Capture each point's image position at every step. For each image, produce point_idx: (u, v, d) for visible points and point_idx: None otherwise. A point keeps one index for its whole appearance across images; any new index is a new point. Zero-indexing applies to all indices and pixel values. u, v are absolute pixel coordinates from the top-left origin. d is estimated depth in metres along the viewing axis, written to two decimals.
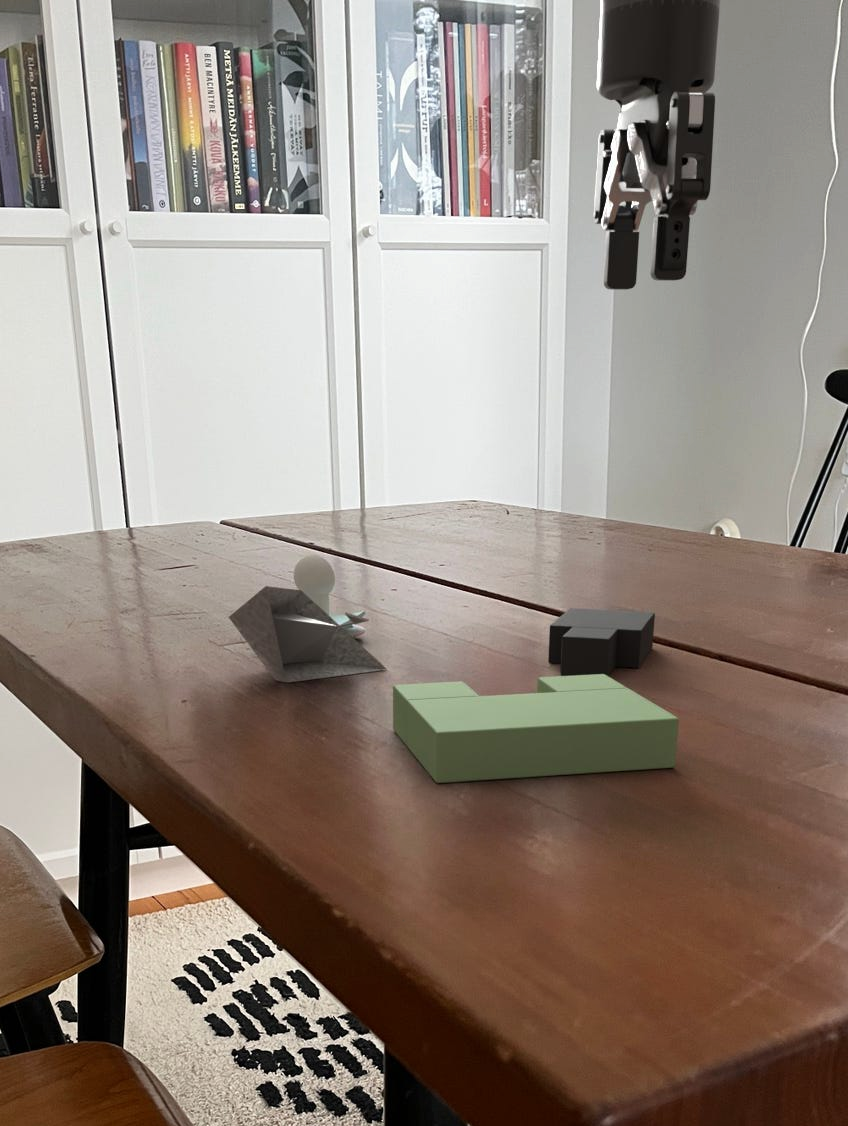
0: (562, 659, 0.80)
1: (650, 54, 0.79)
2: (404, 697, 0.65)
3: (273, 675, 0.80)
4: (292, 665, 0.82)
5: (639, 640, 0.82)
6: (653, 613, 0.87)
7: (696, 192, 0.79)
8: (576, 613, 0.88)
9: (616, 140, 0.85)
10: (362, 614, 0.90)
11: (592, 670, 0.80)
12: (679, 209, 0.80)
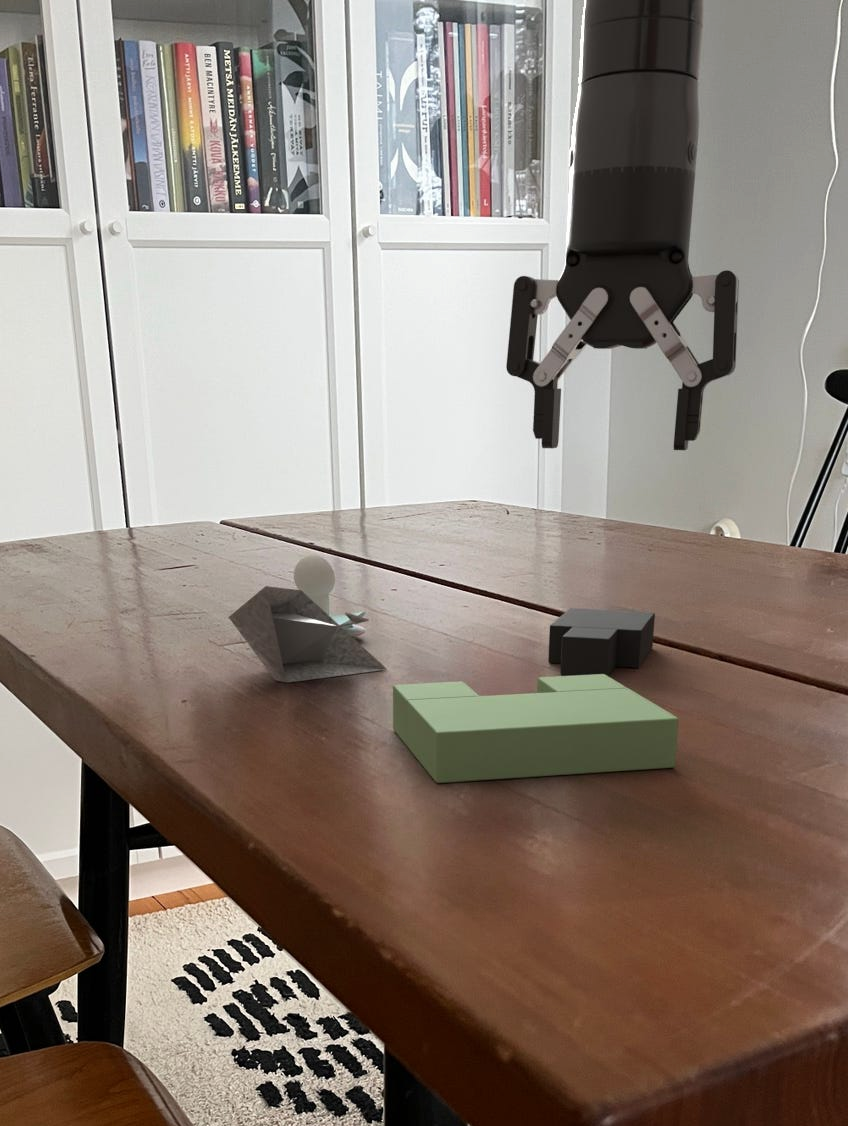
0: (562, 659, 0.80)
1: (679, 224, 0.75)
2: (404, 697, 0.65)
3: (273, 675, 0.80)
4: (292, 665, 0.82)
5: (639, 640, 0.82)
6: (653, 613, 0.87)
7: (732, 369, 0.79)
8: (576, 613, 0.88)
9: (597, 298, 0.78)
10: (362, 614, 0.90)
11: (592, 670, 0.80)
12: (707, 383, 0.79)
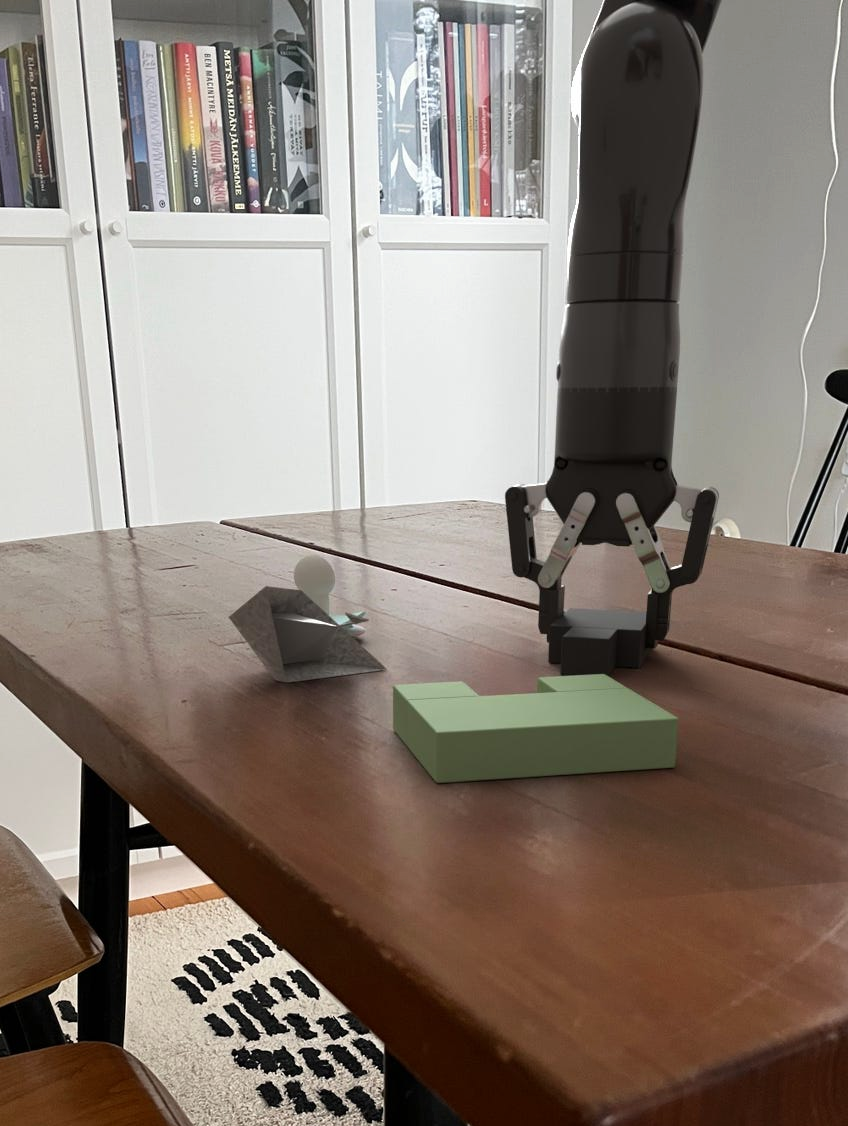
0: (562, 659, 0.80)
1: (662, 437, 0.79)
2: (404, 697, 0.65)
3: (273, 675, 0.80)
4: (292, 665, 0.82)
5: (639, 640, 0.82)
6: None
7: None
8: (576, 613, 0.88)
9: (584, 502, 0.81)
10: (362, 614, 0.90)
11: (592, 670, 0.80)
12: None
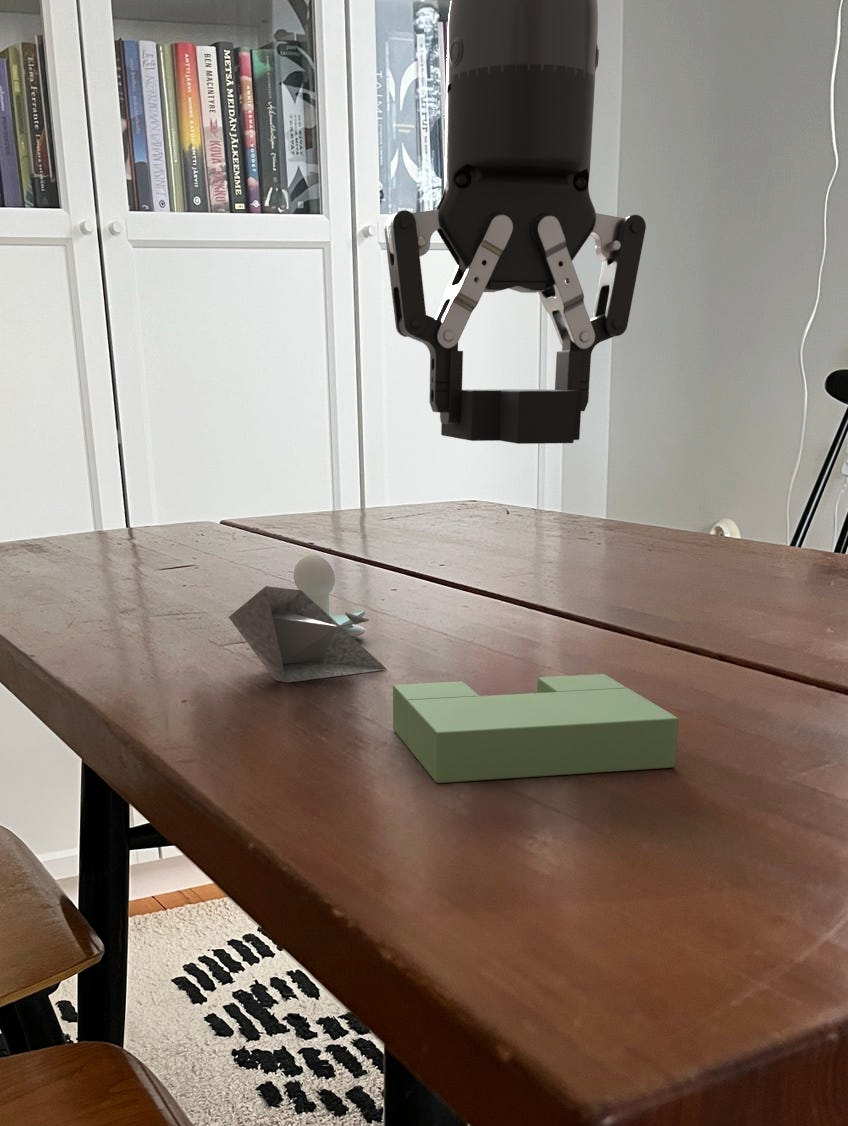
0: (520, 422, 0.63)
1: (590, 142, 0.64)
2: (404, 697, 0.65)
3: (273, 675, 0.80)
4: (292, 665, 0.82)
5: (580, 403, 0.67)
6: None
7: None
8: None
9: (500, 228, 0.65)
10: (362, 614, 0.90)
11: (556, 434, 0.64)
12: None
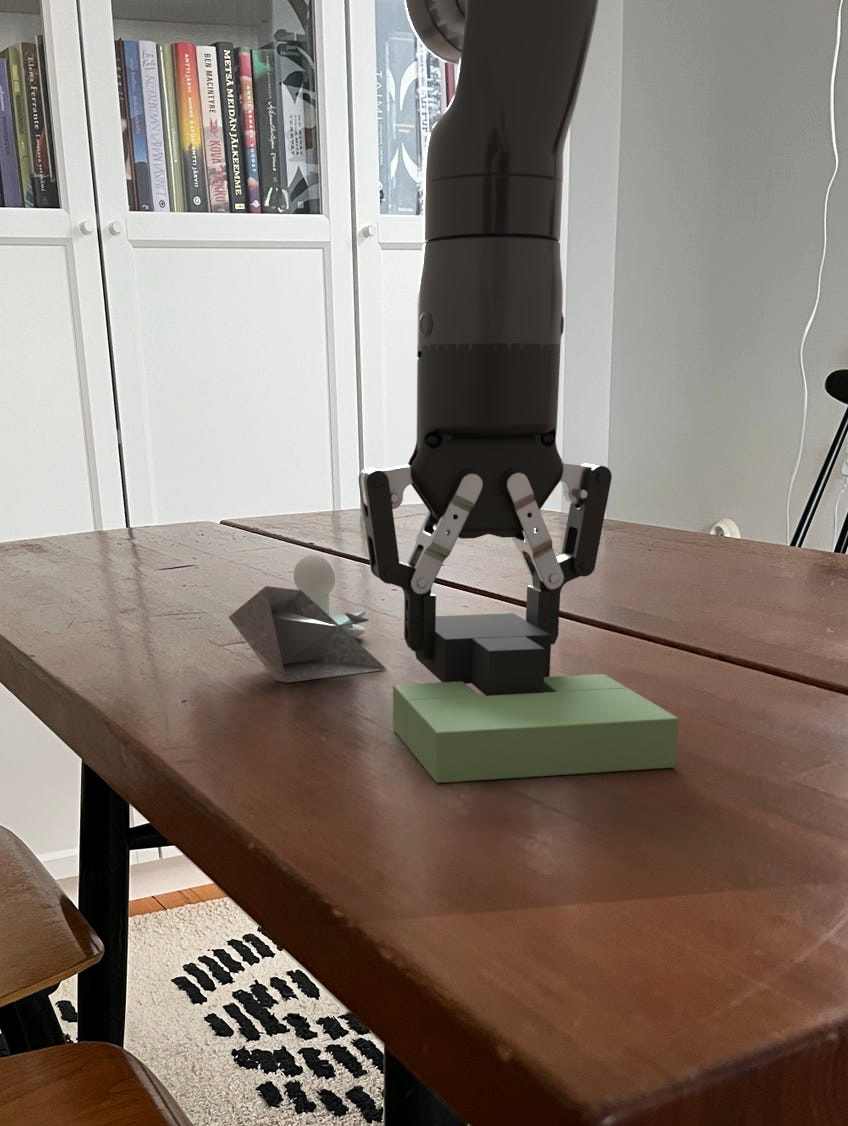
0: (491, 679, 0.65)
1: (556, 404, 0.66)
2: (404, 697, 0.65)
3: (273, 675, 0.80)
4: (292, 665, 0.82)
5: (549, 647, 0.69)
6: None
7: None
8: (438, 622, 0.72)
9: (470, 486, 0.67)
10: (362, 614, 0.90)
11: (526, 688, 0.66)
12: None
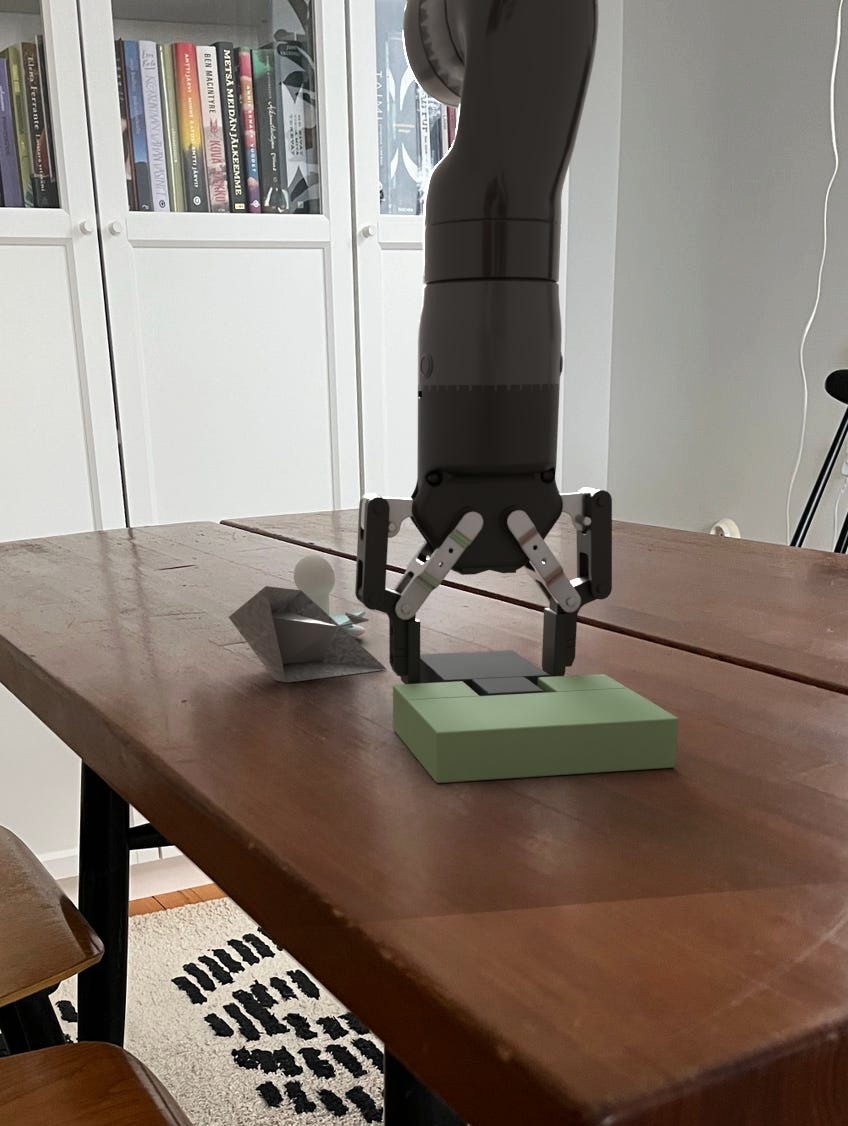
0: None
1: (556, 443, 0.67)
2: (404, 697, 0.65)
3: (273, 675, 0.80)
4: (292, 665, 0.82)
5: None
6: None
7: None
8: (438, 660, 0.73)
9: (471, 523, 0.67)
10: (362, 614, 0.90)
11: None
12: None
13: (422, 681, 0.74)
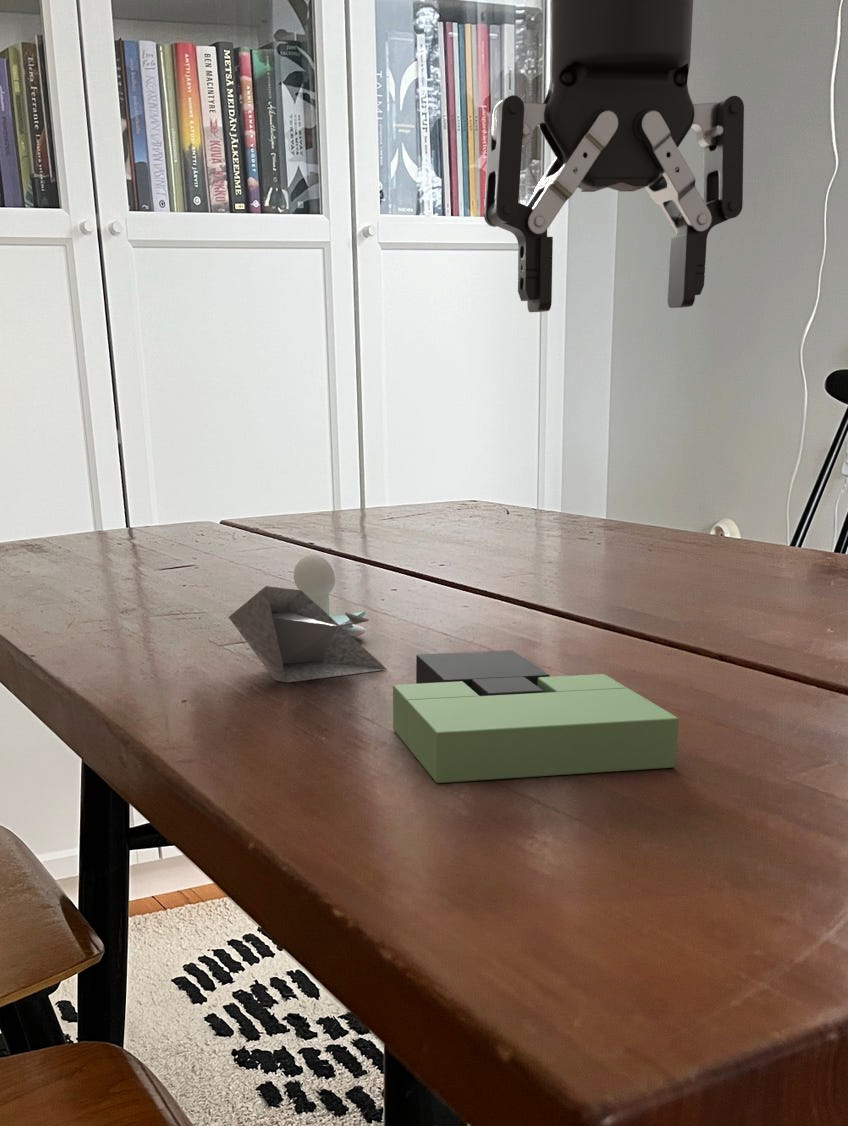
0: None
1: None
2: (404, 697, 0.65)
3: (273, 675, 0.80)
4: (292, 665, 0.82)
5: None
6: None
7: None
8: (438, 660, 0.73)
9: (606, 124, 0.67)
10: (362, 614, 0.90)
11: None
12: None
13: (422, 681, 0.74)
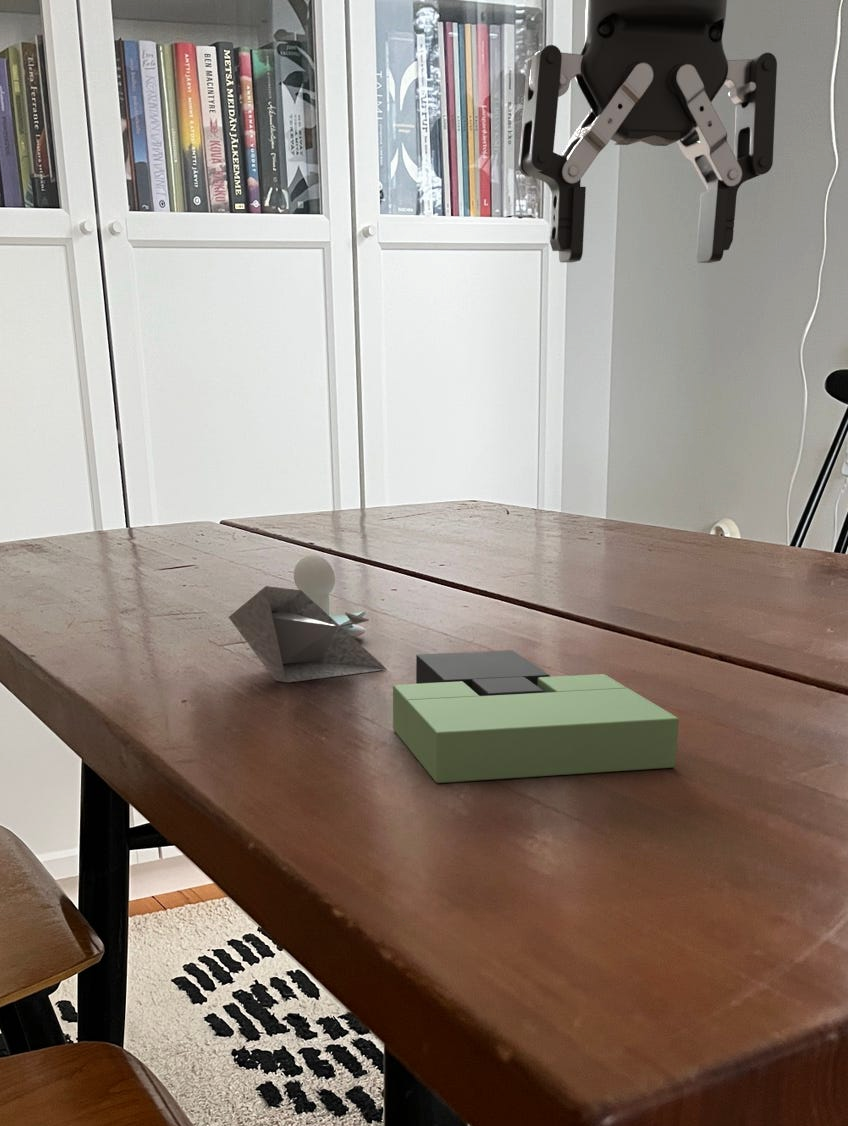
0: None
1: None
2: (404, 697, 0.65)
3: (273, 675, 0.80)
4: (292, 665, 0.82)
5: None
6: None
7: None
8: (438, 660, 0.73)
9: (641, 76, 0.68)
10: (362, 614, 0.90)
11: None
12: None
13: (422, 681, 0.74)
